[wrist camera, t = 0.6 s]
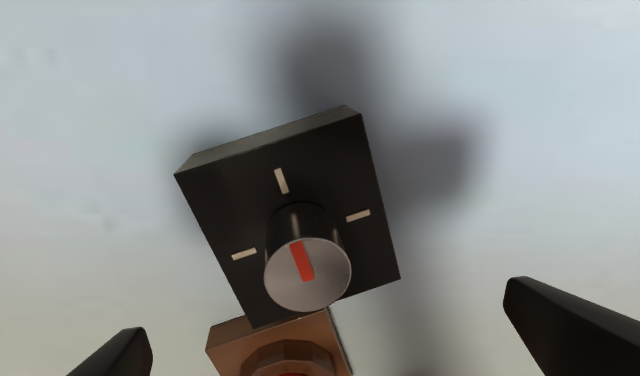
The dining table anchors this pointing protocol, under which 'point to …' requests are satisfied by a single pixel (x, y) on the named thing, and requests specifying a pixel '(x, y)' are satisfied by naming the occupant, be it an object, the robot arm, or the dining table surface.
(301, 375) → the red push button
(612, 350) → the robot arm
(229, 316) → the dining table surface
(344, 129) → the panel
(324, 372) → the button block
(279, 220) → the knob
